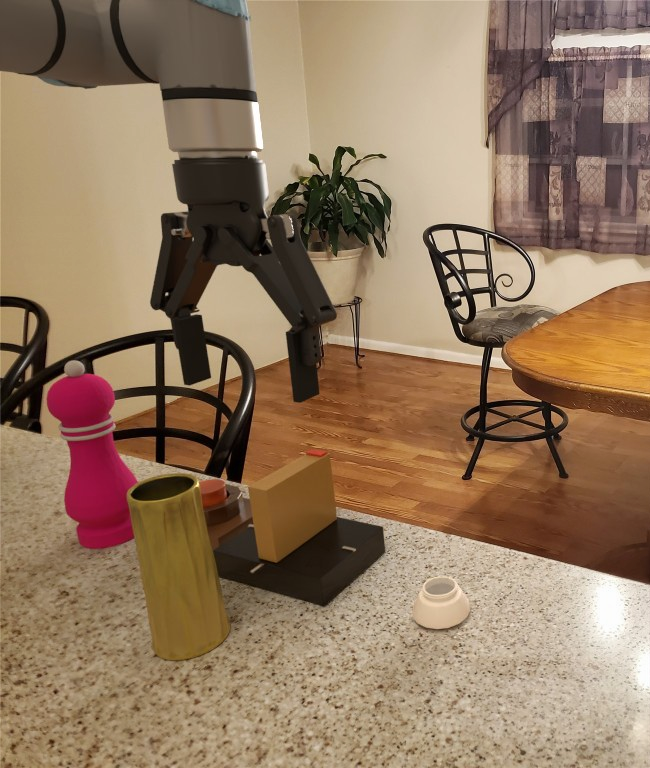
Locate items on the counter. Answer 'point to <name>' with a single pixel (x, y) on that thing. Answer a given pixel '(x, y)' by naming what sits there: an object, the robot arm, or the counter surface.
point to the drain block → (228, 517)
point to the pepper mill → (92, 458)
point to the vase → (177, 567)
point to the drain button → (212, 492)
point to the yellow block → (292, 505)
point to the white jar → (440, 604)
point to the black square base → (305, 561)
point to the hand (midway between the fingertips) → (250, 389)
